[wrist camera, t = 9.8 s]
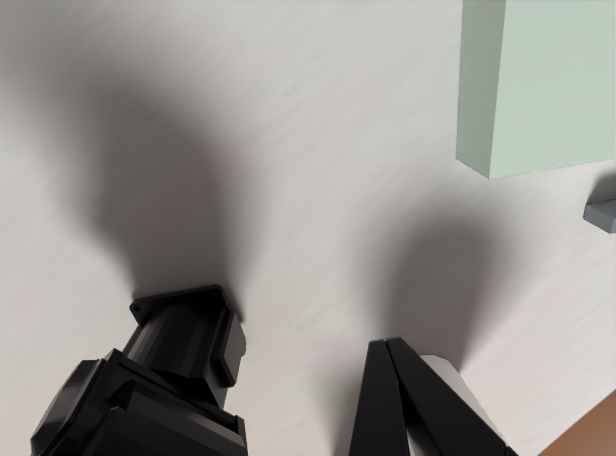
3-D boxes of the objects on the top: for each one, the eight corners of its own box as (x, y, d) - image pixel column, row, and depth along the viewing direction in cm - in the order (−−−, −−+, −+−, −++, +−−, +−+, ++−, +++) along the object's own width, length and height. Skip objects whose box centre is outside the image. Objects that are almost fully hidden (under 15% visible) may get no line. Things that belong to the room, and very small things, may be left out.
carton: (453, 157, 19) (488, 179, 16) (461, -34, 15) (512, -63, 12) (629, 128, 19) (708, 144, 15) (687, -77, 15) (812, -120, 11)
